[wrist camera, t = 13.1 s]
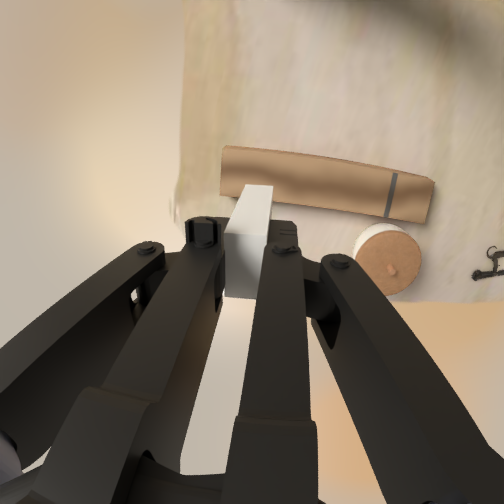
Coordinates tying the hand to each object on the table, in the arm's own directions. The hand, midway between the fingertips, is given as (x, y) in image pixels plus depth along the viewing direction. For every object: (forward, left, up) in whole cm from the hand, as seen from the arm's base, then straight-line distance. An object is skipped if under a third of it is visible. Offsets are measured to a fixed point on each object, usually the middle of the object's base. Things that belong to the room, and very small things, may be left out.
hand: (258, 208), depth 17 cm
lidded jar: (+14, +19, -30) cm, 38 cm away
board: (+5, +9, -29) cm, 31 cm away
